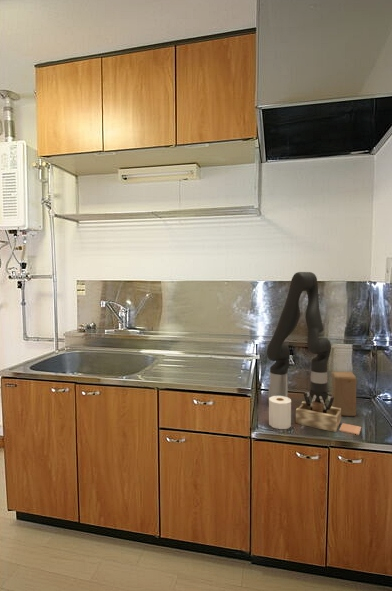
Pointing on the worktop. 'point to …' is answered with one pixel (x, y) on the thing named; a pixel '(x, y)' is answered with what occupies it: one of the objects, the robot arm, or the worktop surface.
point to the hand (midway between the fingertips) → (318, 415)
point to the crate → (318, 418)
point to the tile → (350, 429)
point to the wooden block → (344, 392)
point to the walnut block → (317, 406)
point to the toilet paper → (280, 412)
